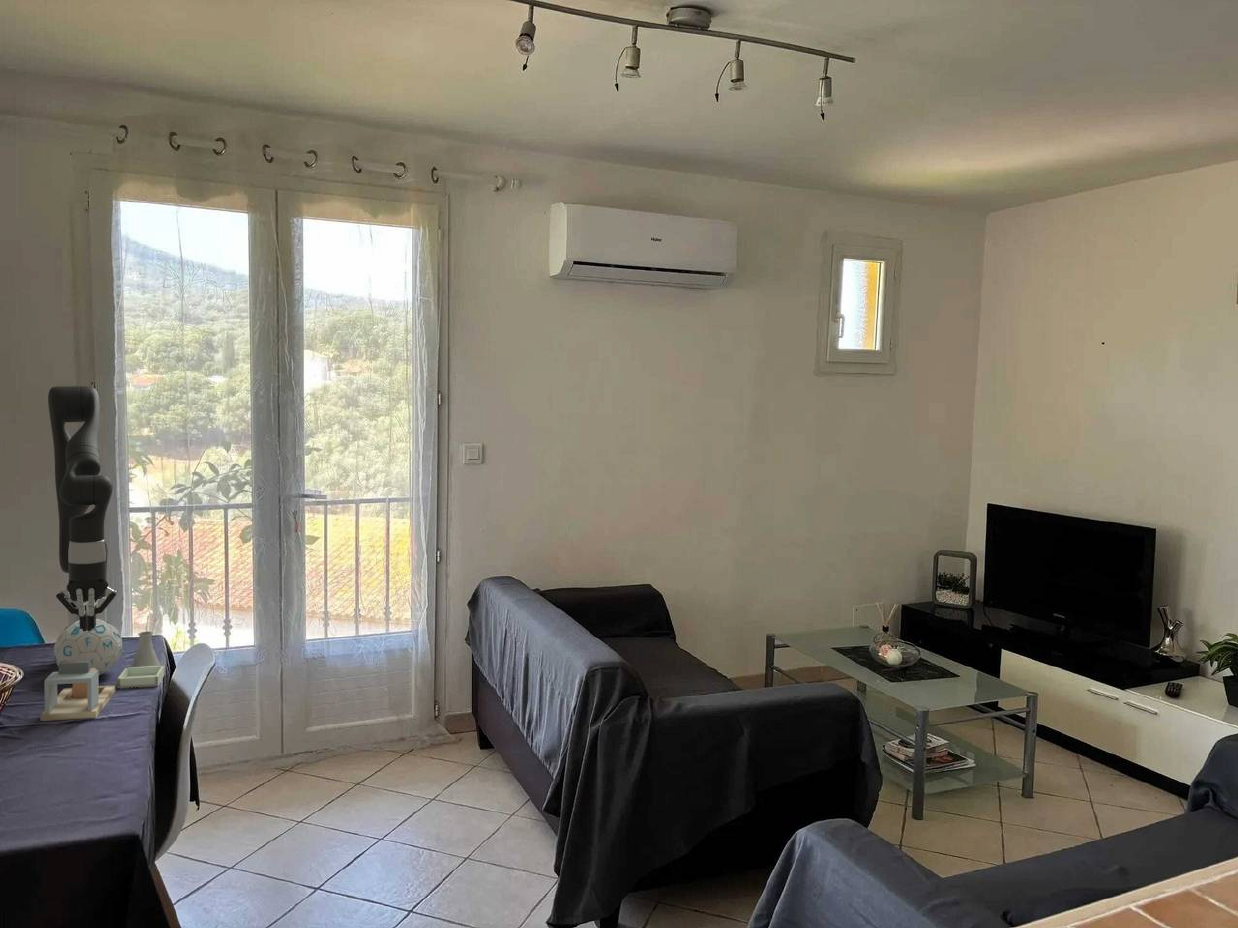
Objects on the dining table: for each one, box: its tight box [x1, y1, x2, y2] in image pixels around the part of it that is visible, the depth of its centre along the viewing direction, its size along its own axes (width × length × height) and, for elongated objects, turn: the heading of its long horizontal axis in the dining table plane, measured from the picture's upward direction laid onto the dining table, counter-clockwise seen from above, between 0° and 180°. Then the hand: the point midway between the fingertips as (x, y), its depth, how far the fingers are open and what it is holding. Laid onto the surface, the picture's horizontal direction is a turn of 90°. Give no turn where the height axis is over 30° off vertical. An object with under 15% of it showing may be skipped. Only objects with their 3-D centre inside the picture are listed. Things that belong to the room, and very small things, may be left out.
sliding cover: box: [43, 660, 100, 713], centre depth 199 cm, size 6×9×10 cm, turn 107°
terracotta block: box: [72, 668, 96, 699], centre depth 209 cm, size 4×4×7 cm
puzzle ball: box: [53, 619, 123, 677], centre depth 224 cm, size 15×15×15 cm
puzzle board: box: [39, 685, 116, 722], centre depth 205 cm, size 18×11×2 cm, turn 17°
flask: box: [130, 630, 162, 667], centre depth 231 cm, size 7×7×10 cm
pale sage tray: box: [116, 665, 166, 689], centre depth 222 cm, size 9×9×2 cm
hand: (88, 630), depth 208 cm, fingers closed
